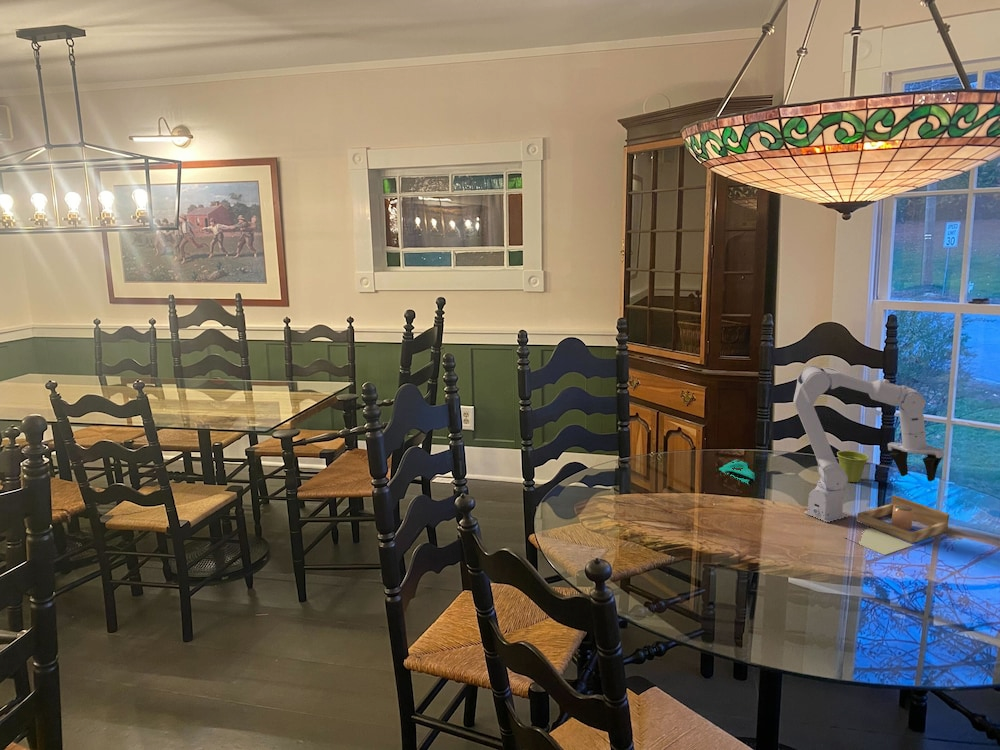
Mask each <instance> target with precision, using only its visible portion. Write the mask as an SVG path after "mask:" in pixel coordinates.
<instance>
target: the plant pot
mask: <svg viewBox="0 0 1000 750" xmlns="http://www.w3.org/2000/svg"><path fill="white" fill-rule="evenodd" d="M836 455H837V459H838V463H839V465H840V467H841V468H842V470H843V471H844V472H845V473H846V475H847V477H848V481H847V483H850V482H853V484H855V483H854V482H857V483H859V481H860V482H861V479H862V475H863V472H864V469H865V465H866V463H867V462H868V460H869V456H868V455H867V454H865V453H862V452H860V451H854V450H852V451H850V450H840V451H837V452H836Z"/></svg>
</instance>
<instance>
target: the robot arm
mask: <svg viewBox="0 0 1000 750" xmlns="http://www.w3.org/2000/svg"><path fill="white" fill-rule="evenodd" d="M796 379H797V380H796V387H795V391H794V395H793V401H792V402H793V405H794V407H795V409H796V412H797V414H798V417H799V418H800V421H801V423H802V426H803V428H804V430H805V433H806V436H807V439H808V441H809V443H810V446H811V448H812V450H813V451H812V452H814V455H815V460H816V462H817V473H818V475H819V476H820V478H819V479H818V481H817V484H816V487H815V488H813V489H812V490H811V491H810V492H809V493H808V499H807V500H808V501H807V509H806V510H805V511H804V514H805V515H808V516H811V517H812V516H813V518H815V517H816V518H815V519H817V518H818V520H820V519H821V520H820V521H822V520H824V521H823V522H825V521H826V522H825V523H827V522H829V523H831V522H830V521H832V522H834V521H833V520H836V521H838V520H837V519H839V520H841V519H840V518H842V519H845V518H844V517H846V518H848V516H849V517H850V515H849V514H847V513H844V512H843V511H844V499H845V491H846V490H845V489H846V485H847V484H848V482H847V481H848V477H847V475H846V473H845V472H844V471H843V470H842V468H841V467H840V465H839V461H838V460H837V458H836V457H835V454H834V453H833V450H832V447H831V445H830V443H829V440H828V438H827V436H826V433H825V430H824V428H823V426H822V424H821V423H822V422H821V421H820V418H819V416H818V413H817V411H816V408H815V406H814V405H815V403H816V402H817V399H818V398H819V397H820V396H822V395H823V394H825V392H827V391H828V389H830V390H834V389H836V388H839V387H842V388H843V387H844V388H847V389H850V390H854V391H858V392H862V393H865V394H867V395H868V396H869V398H870V399H871V400H874V401H877V402H880V403H883V404H886V405H890V406H893V407H899V422H900V430H901V431H900V432H901V434H900V435H901V441H902V442H893V441H891V442H889V443H887V451H891V452H890V453H889V457H890V458H891V459H892V460H893V462H894V463H895V466H896V467H897V470H898V471H899V474H900V477H905V476H908V473H909V469H908V455H909V453H911V454H917V455H923V456H925V457H923V458H922V462H923V464H924V467H925V471H926V478H927V482H933V481H935V479H936V474H937V471H938V467H939V465H940V463H941V460H942V459H943V457H944V456H945V454H944V449H943V448H937V447H935V446H931V445H928V444H927V439H926V437H927V436H926V427H925V426H926V425H925V416H924V408H925V406H926V405H927V403H926V402H927V401H926V399H925V398H924V396H923V395H922V394H921V393H920V392H918V391H917V390H916V389H913V388H911V387H910V386H906V385H903V384H902V385H897V384H895V383H891V382H890V380H889V379H885V378H883V380H881V379H877V380H874V381H868V380H866V379H862V378H859V377H856V376H853V375H850V374H847V373H845V372H841V371H838V370H834V369H832V368H831V369H830V368H826V367H822V368H820V367H819V366H817V365H809V366H807V367H804V368H803V370H801V372H800V374H799V375H798V376H797V377H796Z"/></svg>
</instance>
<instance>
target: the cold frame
mask: <svg viewBox="0 0 1000 750" xmlns="http://www.w3.org/2000/svg"><path fill="white" fill-rule="evenodd" d="M894 505H906V506H909V507H911V508H913V509H914V513H913V521H914V522H917V523H920V524H923V525H925V526H926V527H923V528H922V529H918V530H914V531H910V530H904V529H902V528H899V527H896V526H894V525H891V523H888V522H886V521H882V520H881V519H878V518H881V517H885V516H886V515H890V514H892V513H893V506H894ZM950 516H951V515H950V513H947V512H944V511H941V510H938V509H936V508H932V507H929V506H927V505H924V504H921V503H918V502H915V501H912V500H909V499H907V498H903V497H900V496H897V495H894V494H892V495H891V498H890V503H889V504H885V505H881V506H879V507H875V508H872V509H871V508H870V509H867V510H865V511H861V512H858V513H857V516H856V521H857V520H858V521H860V522H862V523H864V524H866V525H865V526H867V525H868V526H867V527H869V526H870V527H869V528H872V527H873V528H872V529H874V528H875V530H877V531H880V532H882V533H885V534H887V535H890V536H892V537H895V538H897V539H900V540H902V541H905V542H907V543H910V544H914V543H916V542H920V541H923V540H925V539H928V537H929V538H931V537H934V535H935V536H937V534H938V535H940V534H943V533H945V532H946V533H947V532H948V529H949V521H950ZM877 517H878V518H877ZM862 523H861V524H862ZM864 524H863V525H864Z"/></svg>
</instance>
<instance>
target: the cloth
mask: <svg viewBox="0 0 1000 750" xmlns="http://www.w3.org/2000/svg"><path fill="white" fill-rule="evenodd" d="M737 461H739V459H735V460H732V461H730V462H727V463H726V464H723V466H722V467H719V468H718V471H721V472H722V473H724V474H726V473H725V472H732V474H736V475H738V476H741V477H743V478H738V477H735V476H734V475H732V474H731V475H730V477H731V476H733V477H734V478H733V477H732V478H733V479H736V478H737V479H736V480H738V479H739V480H738V481H740V480H741V481H740V482H742V483H744V482H745V484H746V483H747V485H748V486H750V484H749V482H750V480H753V481H754V482H755V481H756V480H755V479H756V475H755V472H753V471H752V470H751V469H750V468H748V467H749V464H748V462H745V461H742V460H740V461H739V462H737ZM732 462H734V463H732ZM734 467H735V468H743V469H741V471H740V470H736V469H734V470H733V469H732V468H734ZM728 474H729V473H727V474H726V475H728ZM744 478H746V479H744Z"/></svg>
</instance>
